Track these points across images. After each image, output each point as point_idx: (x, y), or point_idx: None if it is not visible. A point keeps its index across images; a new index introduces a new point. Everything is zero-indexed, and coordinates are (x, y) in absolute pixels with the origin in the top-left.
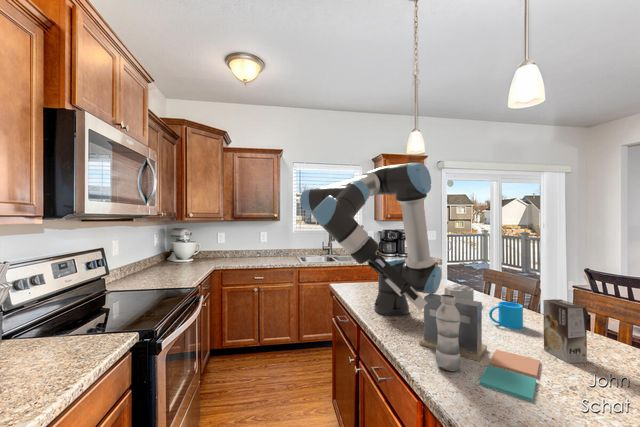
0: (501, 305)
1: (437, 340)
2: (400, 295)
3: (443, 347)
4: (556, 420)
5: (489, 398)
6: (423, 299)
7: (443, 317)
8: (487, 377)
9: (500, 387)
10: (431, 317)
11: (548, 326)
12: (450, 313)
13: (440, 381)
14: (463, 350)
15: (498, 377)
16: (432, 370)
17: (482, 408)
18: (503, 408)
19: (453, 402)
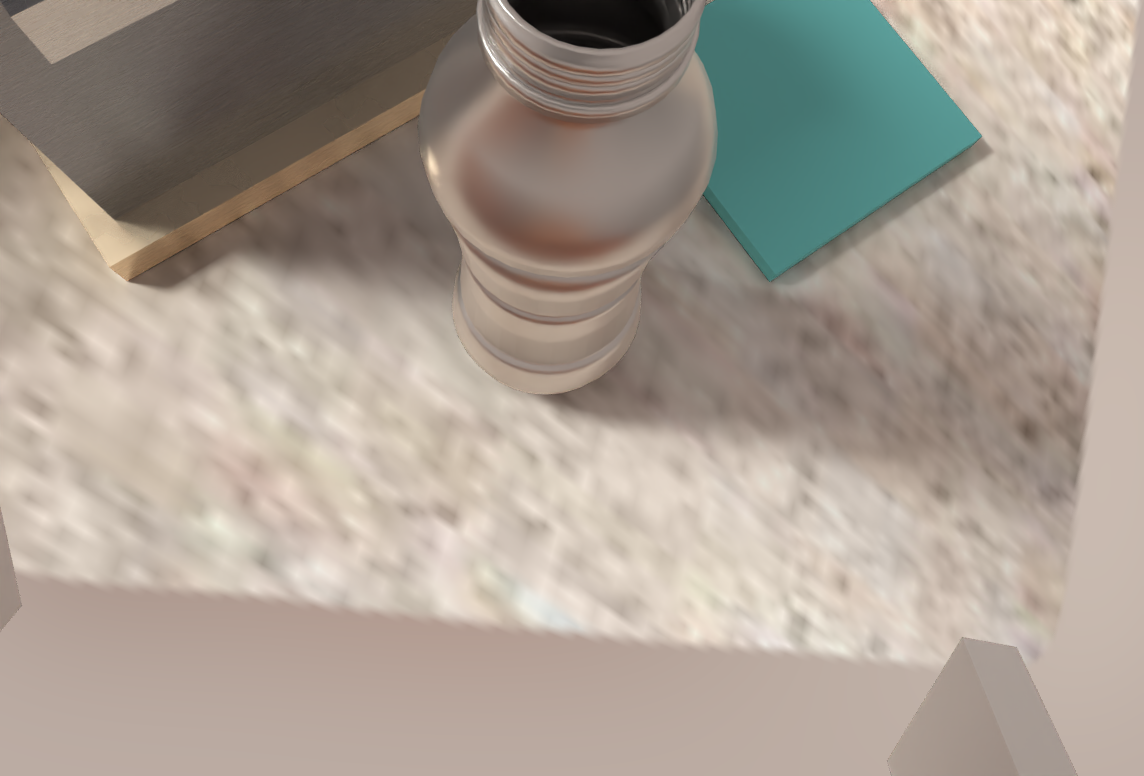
0: None
1: (216, 148)
2: (8, 606)
3: (590, 339)
4: (1110, 173)
5: (902, 335)
6: (1058, 747)
7: (644, 245)
8: (747, 188)
9: (858, 206)
10: (74, 60)
11: None
12: (694, 152)
13: (681, 493)
14: (409, 66)
15: (763, 126)
16: (540, 452)
17: (976, 448)
18: (993, 337)
19: (900, 572)
